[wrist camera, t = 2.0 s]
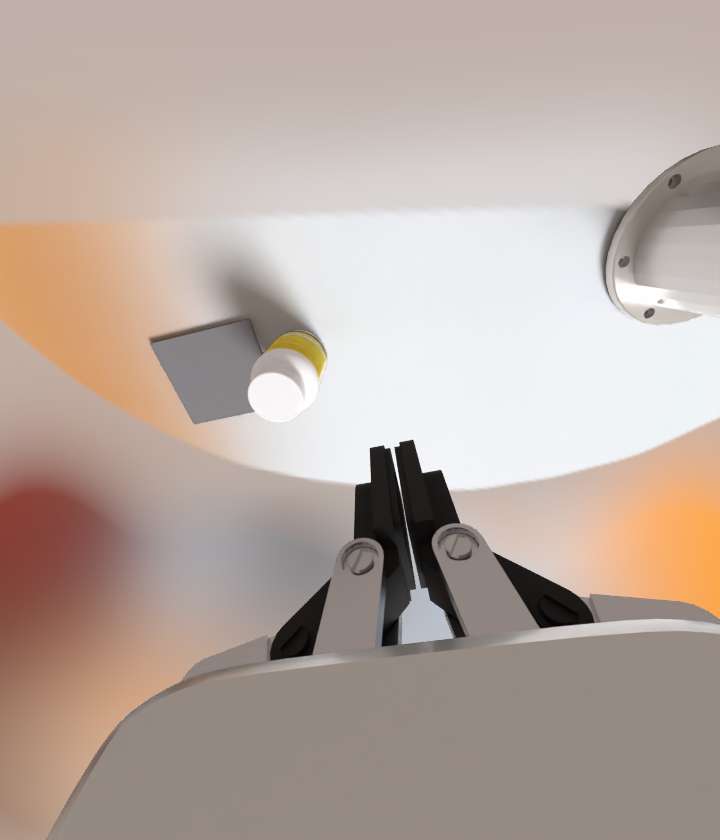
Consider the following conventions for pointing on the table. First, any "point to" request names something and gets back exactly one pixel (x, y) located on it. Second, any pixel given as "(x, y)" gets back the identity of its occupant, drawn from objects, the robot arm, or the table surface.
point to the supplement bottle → (287, 376)
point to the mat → (211, 369)
